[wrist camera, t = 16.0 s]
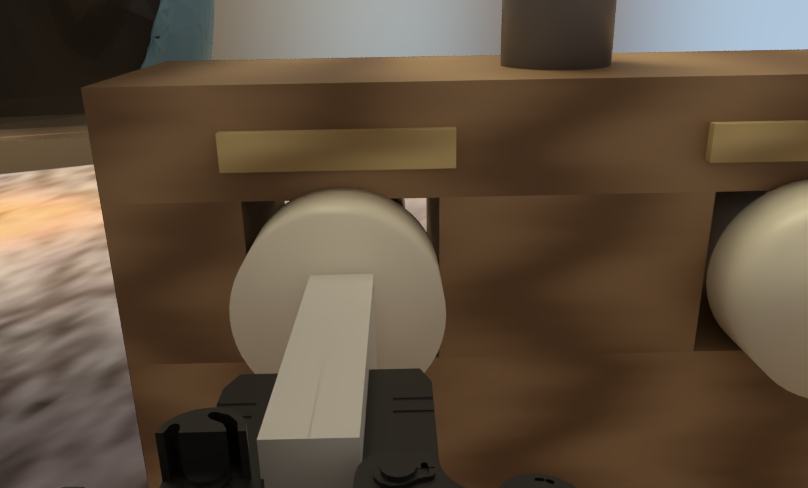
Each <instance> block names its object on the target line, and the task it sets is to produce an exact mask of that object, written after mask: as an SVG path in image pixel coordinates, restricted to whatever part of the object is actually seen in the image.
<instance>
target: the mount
mask: <svg viewBox="0 0 808 488" xmlns="http://www.w3.org/2000/svg"><path fill="white" fill-rule="evenodd" d="M500 61H501V55H479V56H477V55H476V56H427V57H426V56H421V57H366V58H314V59H313V58H312V59H256V60H201V61H165V62H162V63H158V64H155V65H152V66H149V67H146V68H142V69H139V70H136V71H133V72H130V73H126V74H123V75H120V76H117V77H113V78H110V79H107V80H104V81H101V82H97V83H94V84H91V85H88V86H85V87H81V92H82V98H83V104H84V110H85V115H86V121H87V127H88V133H89V139H90V144H91V150H92V157H93V162H94V168H95V174H96V180H97V186H98V192H99V198H100V204H101V209H102V215H103V221H104V227H105V233H106V239H107V245H108V251H109V256H110V262H111V268H112V274H113V280H114V286H115V292H116V298H117V303H118V309H119V315H120V321H121V327H122V333H123V339H124V345H125V350H126V356H127V362H128V368H129V374H130V380H131V386H132V392H133V397H134V403H135V409H136V415H137V421H138V427H139V433H140V439H141V444H142V450H143V456H144V462H145V468H146V474H147V480H148V486H149V488H159V487H160V485H161V483H162V476H161V469H160V463H159V456H158V450H157V444H156V437H155V432H156V431H157V430H158V429H159V428H160V427H161V426H162V425H163V424H164V423H165V422H167V421H168V420H170V419H172V418H174V417H175V416H177V415H179V414H182V413H185V412H188V411H191V410H195V409H202V408H210V407H214V408H215V407H217V402H218V400H219V398H220V395H221V393H222V391H223V389H224V388H225V387H226V386H227V385H228V384H229V383H231V382H232V381H233V380H234V379H236V378H237V377H238V376H239V375H240V374H255V373H254V372H253V371H252V370H251V369H250V368H249V366H248V365H247V363H246V362H245V360H244V359H243V357H242V356H241V353H240V351H239V349H238V347H237V345H236V343H235V340H234V337H233V334H232V329H231V324H230V312H229V306H230V296H231V291H232V287H233V284H234V280H235V278H236V276H237V273H238V271H239V269H240V267H241V265H242V263H243V261H244V260H245V258H246V256H247V254H248V252H249V250H250V248H251V247H252V245H253V243H254V241H255V239H256V237H257V236H258V234H259V232H260V231H261V229H262V227H263V226H264V224H265V223H266V222H267V221H268V220H269V218H270V217H271V216H272V215H273V214H274V213H275V212H276V211H277V210H279V209H280V208H281V207H282V206H284V205H285V202H284V201H291V200H293V199H295V198H297V197H299V196H301V195H303V194H306V193H309V192H311V191H314V190H319V189H324V188H331V187H354V188H360V189H366V190H369V191H372V192H376V193H379V194H381V195H383V196H385V197H388V198H390V199H391V198H427V234H428V236H429V238H430V240H431V242H432V244H433V247H434V249H435V252H436V255H437V260H438V265H439V270H440V276H441V281H442V287H443V292H444V298H445V305H446V323H445V331H444V335H443V340H442V342H441V345H440V348H439V350H438V353H437V354H436V356H435V358H434V360H433V362H432V363H431V365H430V366H429V367H428V369H427V370H426V372H425V375H426V376H427V377H428V378H429V379H430V380H431V381H432V390H433V400H434V413H435V422H436V433H437V443H438V454H439V461H440V465H441V468H442V469H443V471H444V472H445V473H446V475H447V476H448V477H449V478H451V479H452V480H453V481H454V482H456V483H458V484H460V485H462V486H464V487H466V488H497V487H499V486H500V485H501V484H502V483H503V482H504V481H506V480H507V479H509V478H512V477H515V476H518V475H521V474H538V473H539V474H544V475H549V476H554V477H558V478H560V479H562V480H564V481H566V482H568V483H571V484H573V485H574V486H575V487H576V488H808V398H805V397H802V396H798V395H796V394H794V393H792V392H789V391H787V390H786V389H784V388H782V387H781V386H779V385H778V384H776V383H775V382H774V381H773V380H772V379H771V378H770V377H769V376H768V375H767V374H766V373H765V372H764V371H763V370H762V369H761V368H760V367H759V366H758V365H757V364H756V363H755V362H754V361H753V360H752V359H751V358H750V357H749V356H748V355H747V354H746V353H745V352H744V351H743V350H742V349H741V348H740V347H739V346H738V345H737V344H736V343H735V342H734V341H733V340H732V339H731V338H730V337H729V336H728V335H727V334H726V333H725V332H724V330H723V329H722V328H721V327H720V326H719V324H718V323H717V321H716V319H715V318H714V316H713V314H712V311H711V309H710V306H709V302H708V298H707V288H706V280H707V276H705V275H704V272H705V265H706V258H707V251H708V244H709V237H710V230H711V222H712V215H713V208H714V201H715V194H716V192H727V191H771V190H773V189H776V188H778V187H780V186H783V185H786V184H789V183H792V182H796V181H801V180H805V179H808V49H807V50H755V51H754V50H752V51H698V52H644V53H612V61H611V66H609V67H605V68H598V69H586V70H529V69H516V68H508V67H504V66H501V65H500Z"/></svg>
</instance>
